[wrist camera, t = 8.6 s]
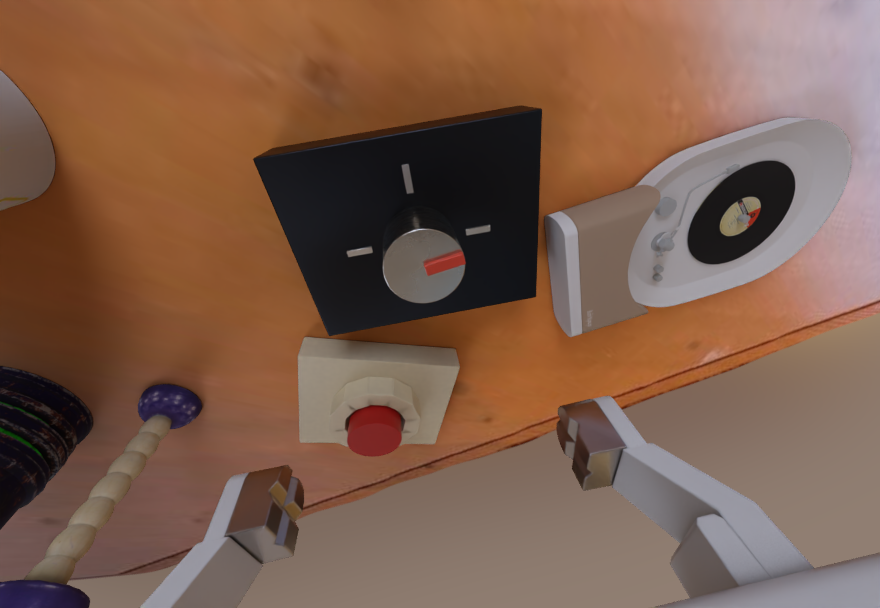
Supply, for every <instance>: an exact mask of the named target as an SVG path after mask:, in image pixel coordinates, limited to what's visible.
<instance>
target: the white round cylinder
mask: <svg viewBox="0 0 880 608" xmlns="http://www.w3.org/2000/svg"><path fill="white" fill-rule="evenodd" d="M54 172H55V154H54V149H53V145H52V142H51V139H50V136H49V134H48V132H47V129H46V127H45V125H44V123H43V122H42V120H41V118H40V116H39V115H38V113H37V112H36V110H35V109H34V107H33V106H32V104H31V103H30V102H29V100H28V99H27V98H26V97H25V95H24V94H23V93H22V92H21V91H20V90H19V88H18V87H17V86H16V85H15V84H14V83H13V82H12V81H11V80H10V79H9V78H8V77H7V76H6V75H5V74H4V73H3V72H2V71H1V70H0V211H1V210H4V209H7V208H10V207H13V206H16V205H19V204H22V203H25V202H28V201H31V200H33V199H35V198H37V197H39V196H40V195H41V194H42V193H44V192H45V191H46V189H47V188H48V187H49V185H50V184H51V182H52V179H53V176H54Z"/></svg>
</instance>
